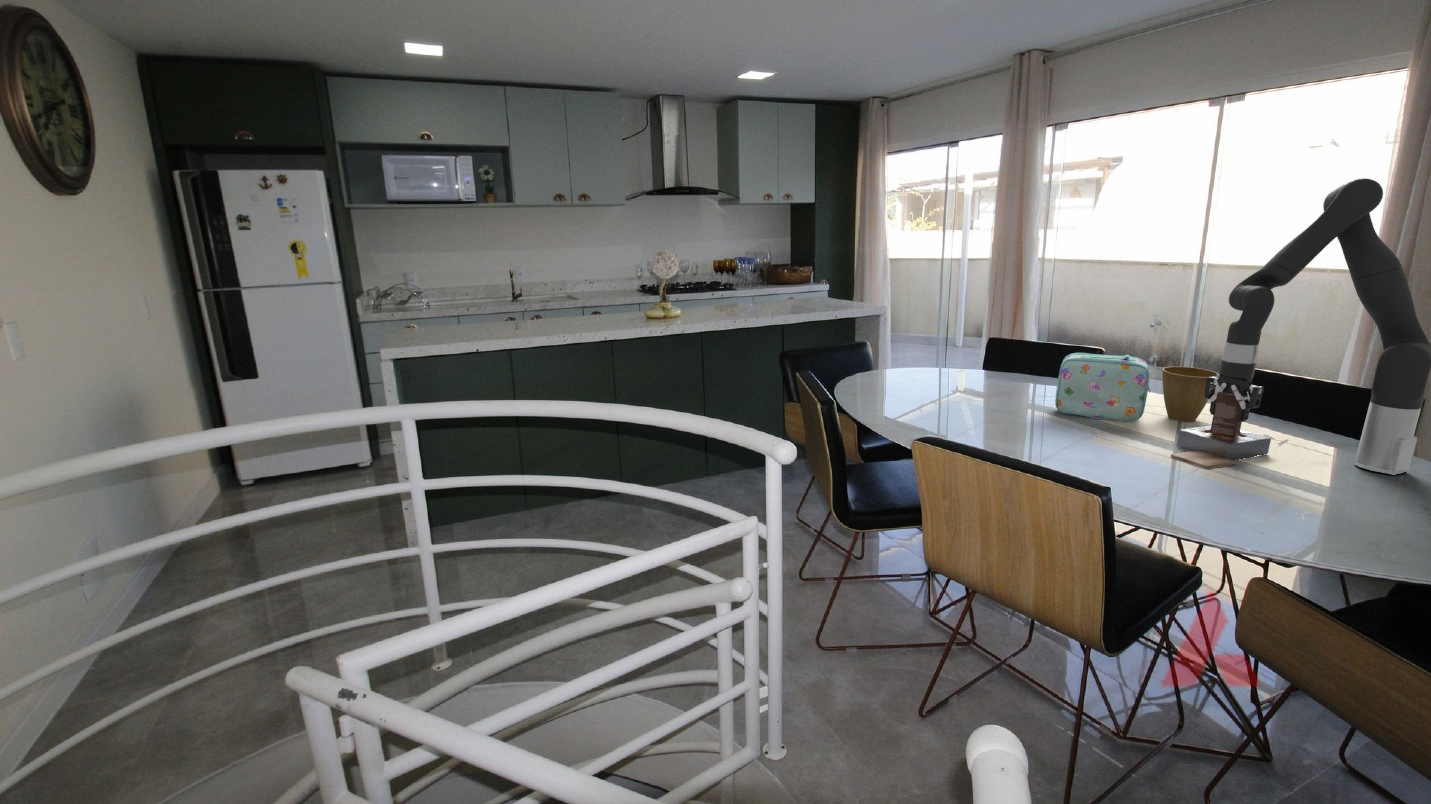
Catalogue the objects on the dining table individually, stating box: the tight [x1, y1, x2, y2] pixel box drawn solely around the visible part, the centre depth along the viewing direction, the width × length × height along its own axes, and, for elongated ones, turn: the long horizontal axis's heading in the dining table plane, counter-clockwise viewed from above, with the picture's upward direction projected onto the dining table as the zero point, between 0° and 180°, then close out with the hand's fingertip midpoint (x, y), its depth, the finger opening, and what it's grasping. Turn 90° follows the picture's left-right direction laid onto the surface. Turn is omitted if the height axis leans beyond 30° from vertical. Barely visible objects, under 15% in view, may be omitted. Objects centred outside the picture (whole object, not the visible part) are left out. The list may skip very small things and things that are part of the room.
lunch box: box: [1054, 352, 1151, 422], centre depth 219 cm, size 27×10×21 cm, turn 59°
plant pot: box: [1161, 365, 1220, 423], centre depth 216 cm, size 15×15×16 cm
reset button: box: [1208, 433, 1241, 439], centre depth 187 cm, size 6×6×2 cm
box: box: [1210, 392, 1246, 438], centre depth 185 cm, size 6×4×12 cm
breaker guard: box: [1176, 424, 1272, 462], centre depth 187 cm, size 14×16×5 cm
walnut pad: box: [1170, 450, 1235, 470], centre depth 180 cm, size 10×10×1 cm
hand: (1227, 417), depth 186 cm, fingers closed on box, 7 cm apart
